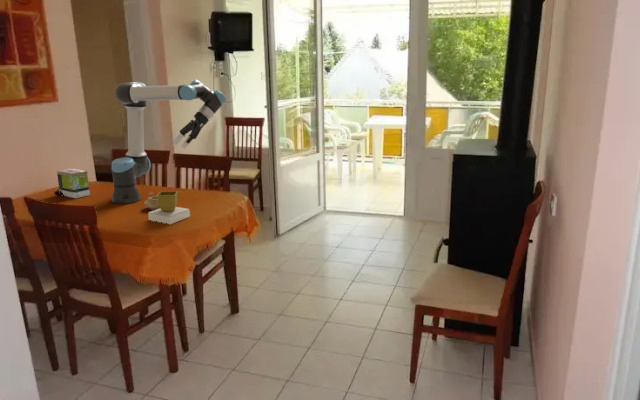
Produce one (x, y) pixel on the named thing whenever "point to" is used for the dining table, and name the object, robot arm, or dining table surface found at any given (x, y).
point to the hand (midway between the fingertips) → (178, 145)
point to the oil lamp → (152, 202)
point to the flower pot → (167, 200)
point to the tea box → (73, 183)
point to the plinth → (169, 215)
